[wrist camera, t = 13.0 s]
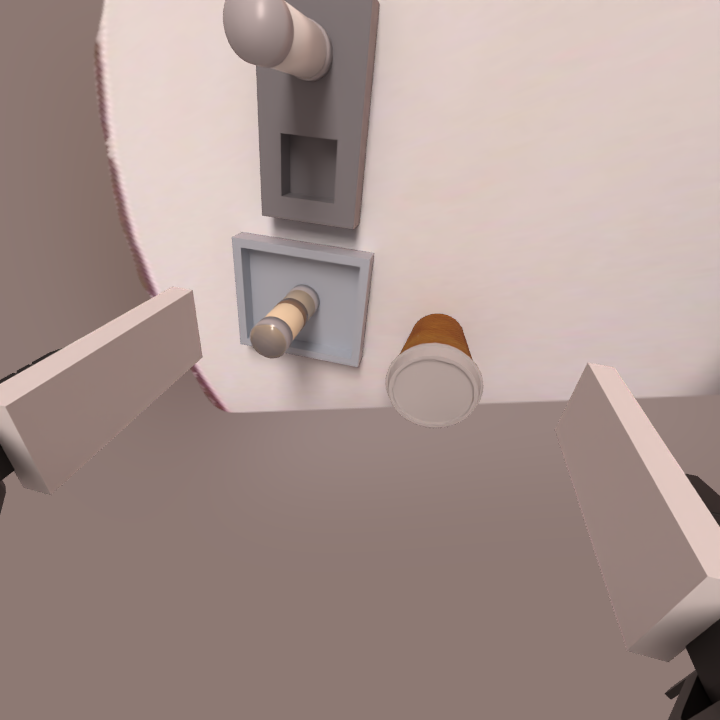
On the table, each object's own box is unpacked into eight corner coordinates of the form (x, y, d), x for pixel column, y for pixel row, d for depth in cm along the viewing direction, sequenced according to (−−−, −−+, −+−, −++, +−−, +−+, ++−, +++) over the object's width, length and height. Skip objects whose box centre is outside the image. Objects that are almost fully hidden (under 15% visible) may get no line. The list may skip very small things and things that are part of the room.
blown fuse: (320, 287, 46) (287, 327, 37) (319, 317, 48) (287, 361, 39) (289, 281, 47) (248, 319, 38) (289, 311, 49) (250, 354, 40)
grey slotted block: (379, 3, 32) (336, -67, 21) (359, 223, 42) (322, 260, 30) (267, -5, 34) (167, -75, 22) (273, 210, 43) (205, 241, 32)
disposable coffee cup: (402, 370, 51) (389, 431, 41) (394, 303, 46) (377, 352, 36) (478, 368, 48) (484, 432, 38) (477, 297, 43) (483, 348, 33)
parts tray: (374, 253, 43) (370, 259, 41) (362, 357, 51) (358, 367, 49) (242, 232, 45) (231, 237, 43) (249, 335, 53) (240, 343, 51)
